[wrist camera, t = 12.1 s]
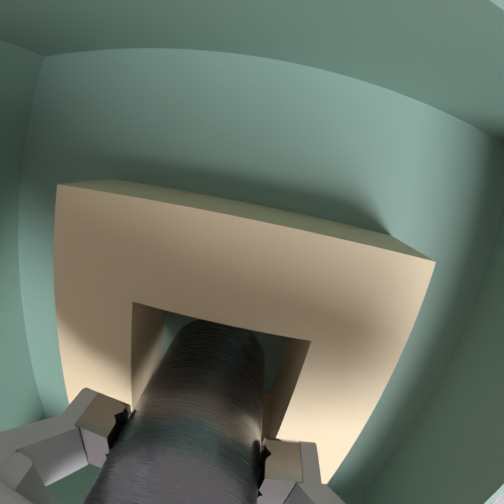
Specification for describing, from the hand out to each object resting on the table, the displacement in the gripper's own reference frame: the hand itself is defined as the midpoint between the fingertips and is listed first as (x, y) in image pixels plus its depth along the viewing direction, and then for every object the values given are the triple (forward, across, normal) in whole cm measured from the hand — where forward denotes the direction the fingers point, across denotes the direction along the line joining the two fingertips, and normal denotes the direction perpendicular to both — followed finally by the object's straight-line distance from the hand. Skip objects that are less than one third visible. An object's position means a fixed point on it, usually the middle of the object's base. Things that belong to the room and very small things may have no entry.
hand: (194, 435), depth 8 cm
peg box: (+7, 0, 0) cm, 7 cm away
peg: (+5, 0, 0) cm, 5 cm away
